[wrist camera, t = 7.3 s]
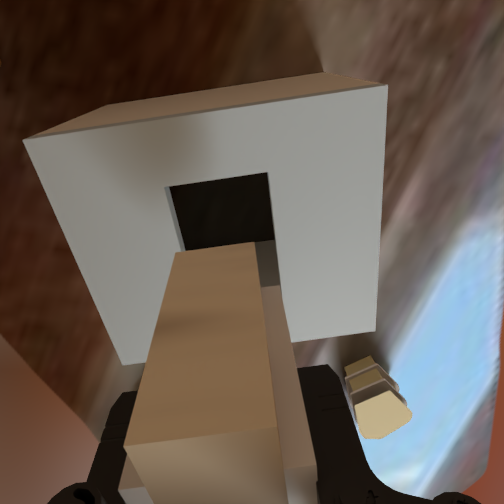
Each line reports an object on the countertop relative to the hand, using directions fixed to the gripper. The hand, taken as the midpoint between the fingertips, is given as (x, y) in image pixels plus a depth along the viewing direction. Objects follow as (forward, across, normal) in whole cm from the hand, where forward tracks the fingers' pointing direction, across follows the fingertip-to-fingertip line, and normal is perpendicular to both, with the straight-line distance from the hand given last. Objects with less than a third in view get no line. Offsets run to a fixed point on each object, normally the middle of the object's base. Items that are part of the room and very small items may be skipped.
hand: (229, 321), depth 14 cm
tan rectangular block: (0, 0, 0) cm, 0 cm away
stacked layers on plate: (+18, -12, +26) cm, 34 cm away
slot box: (+18, 0, 0) cm, 18 cm away
